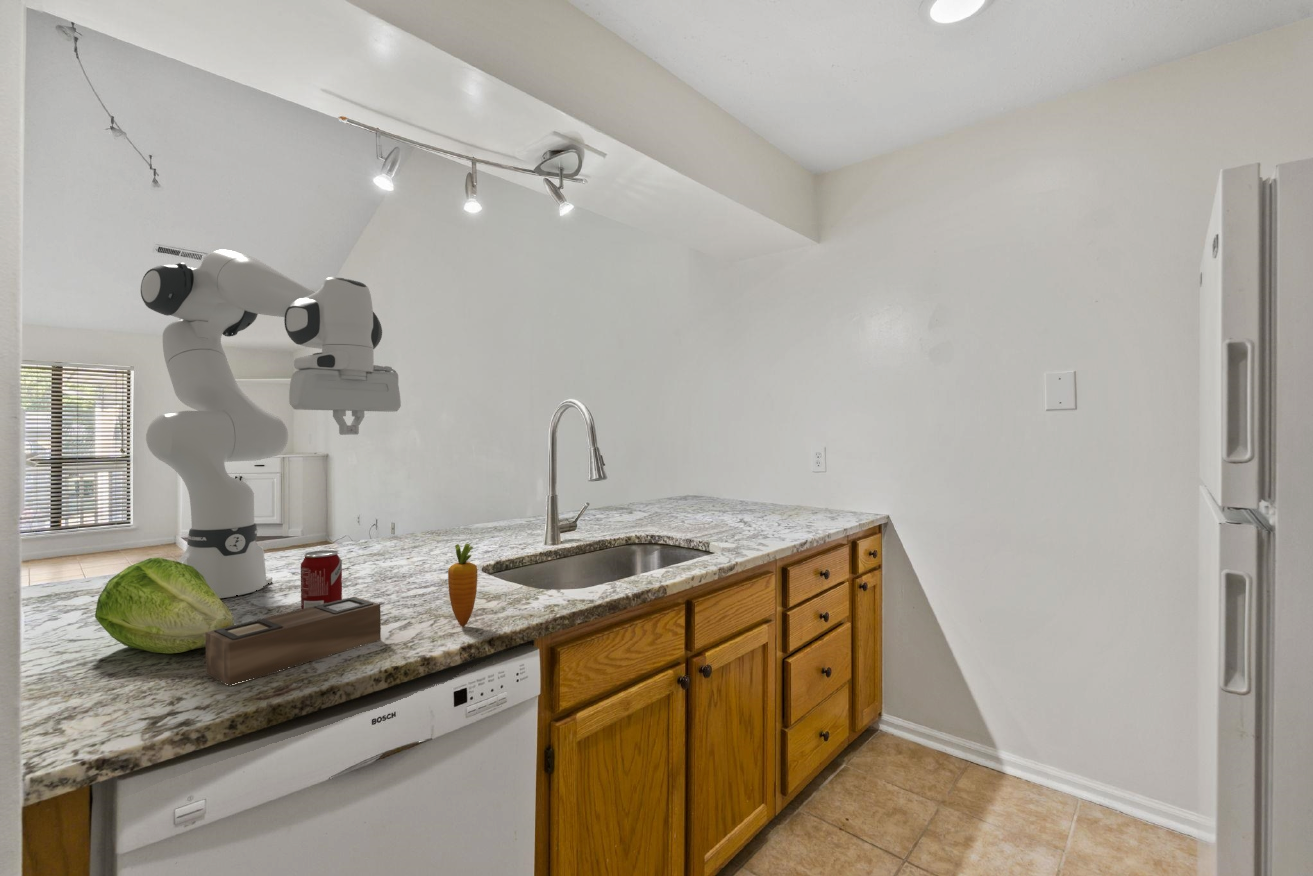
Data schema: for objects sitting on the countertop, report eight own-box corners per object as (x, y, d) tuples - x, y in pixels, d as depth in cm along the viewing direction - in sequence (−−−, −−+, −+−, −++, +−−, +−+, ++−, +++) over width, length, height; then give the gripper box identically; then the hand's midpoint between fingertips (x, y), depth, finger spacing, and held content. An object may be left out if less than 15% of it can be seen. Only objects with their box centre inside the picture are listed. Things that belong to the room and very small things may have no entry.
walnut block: (206, 673, 87) (205, 630, 87) (354, 630, 106) (354, 595, 105) (229, 686, 83) (229, 641, 83) (380, 639, 101) (380, 602, 101)
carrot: (448, 624, 109) (447, 541, 109) (476, 621, 111) (476, 539, 111) (448, 632, 104) (448, 546, 104) (478, 629, 106) (478, 544, 106)
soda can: (324, 623, 110) (323, 557, 109) (292, 620, 111) (291, 555, 111) (350, 612, 116) (349, 549, 116) (319, 610, 118) (319, 548, 117)
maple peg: (227, 671, 88) (227, 630, 88) (258, 663, 91) (257, 623, 91) (239, 678, 86) (239, 636, 86) (270, 669, 89) (270, 628, 89)
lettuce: (277, 652, 99) (169, 697, 85) (194, 619, 109) (88, 655, 96) (271, 566, 97) (161, 599, 83) (188, 542, 107) (79, 567, 94)
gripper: (388, 368, 127) (389, 434, 127) (284, 359, 110) (285, 435, 110) (406, 366, 123) (407, 434, 123) (301, 356, 106) (302, 435, 106)
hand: (349, 434), depth 117 cm, fingers closed
